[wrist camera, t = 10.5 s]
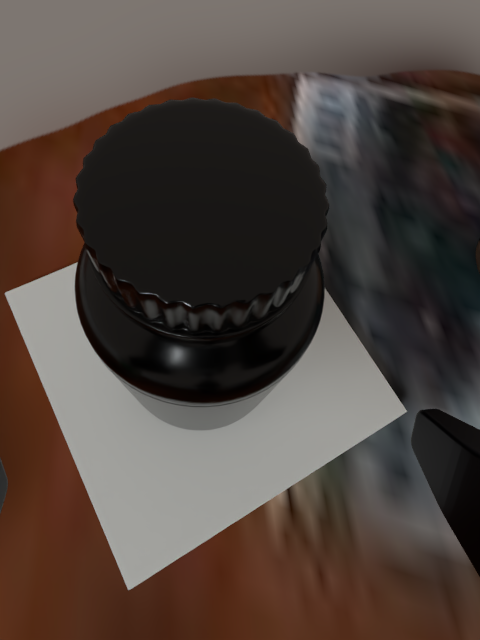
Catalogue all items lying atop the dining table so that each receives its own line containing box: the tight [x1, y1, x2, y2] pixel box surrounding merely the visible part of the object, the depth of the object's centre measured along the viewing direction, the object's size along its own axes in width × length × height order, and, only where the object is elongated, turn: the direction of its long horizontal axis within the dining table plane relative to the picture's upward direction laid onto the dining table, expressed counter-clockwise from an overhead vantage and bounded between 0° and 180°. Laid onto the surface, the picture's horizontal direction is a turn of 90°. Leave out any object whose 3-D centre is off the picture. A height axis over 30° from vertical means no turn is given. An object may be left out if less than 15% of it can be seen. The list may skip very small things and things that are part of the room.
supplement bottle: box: [73, 98, 329, 430], centre depth 13 cm, size 7×7×12 cm
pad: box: [5, 263, 407, 590], centre depth 19 cm, size 14×14×1 cm
